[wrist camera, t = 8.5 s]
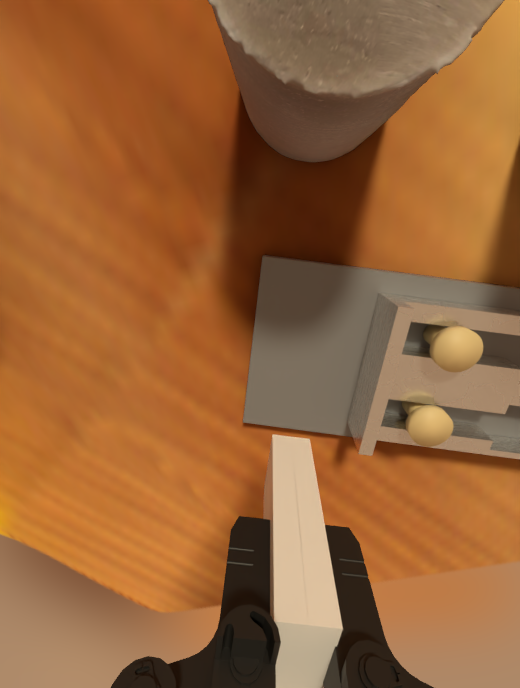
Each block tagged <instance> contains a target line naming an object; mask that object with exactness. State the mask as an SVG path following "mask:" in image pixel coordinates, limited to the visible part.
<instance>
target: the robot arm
mask: <svg viewBox="0 0 520 688" xmlns="http://www.w3.org/2000/svg"><path fill="white" fill-rule="evenodd" d="M323 687H324V688H433V687H432V686H429V685H428V684H426V683H423V682H422V681H420V680H418V679H417V678H415V677H414V676H412V675H411V674H409V672H407V671H406V670H405V669H404V668H403V667H402V666H401V665H400V664H399V662H398V661H397V660H396V659H395V657H394V656H393V654H392V652H391V650H390V649H389V647H388V645H387V642H386V639H385V636H384V633H383V629H382V625H381V622H380V618H379V615H378V611H377V607H376V603H375V600H374V596H373V592H372V589H371V585H370V581H369V579H368V574H367V570H366V566H365V564H364V559H363V555H362V552H361V548H360V544H359V542H358V541H357V539H356V538H355V536H354V535H353V533H352V532H351V530H350V529H349V528H347V527H339V526H330V525H325V524H324V518H323V512H322V507H321V501H320V495H319V490H318V484H317V478H316V472H315V467H314V461H313V455H312V449H311V444H310V439H306V438H297V437H289V436H280V435H272V441H271V447H270V454H269V460H268V466H267V473H266V479H265V485H264V517H263V519H260V518H251V517H242V516H239V518H238V519H237V521H236V523H235V524H234V526H233V527H232V529H231V535H230V542H229V550H228V558H227V566H226V574H225V582H224V590H223V598H222V606H221V614H220V621H219V625H218V629H217V631H216V633H215V635H214V637H213V639H212V640H211V641H210V643H209V644H208V645H207V647H205V648H204V649H203V650H202V651H200V652H199V653H197V654H195V655H193V656H191V657H189V658H186V659H183V660H180V661H176V662H173V663H170V664H167V663H165V662H164V661H163V660H162V659H160V658H155V657H149V656H148V657H144V658H141V659H138V660H135V661H134V662H132V663H131V664H130V665H128V666H127V667H126V668H125V669H123V670H122V672H121V673H120V675H119V676H118V677H117V679H116V680H115V681H114V683H113V684H112V686H111V688H323Z"/></svg>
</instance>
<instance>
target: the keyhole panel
mask: <svg viewBox="0 0 520 688" xmlns="http://www.w3.org/2000/svg"><path fill="white" fill-rule="evenodd" d="M411 322H417V323H425V324H433V325H441V326H448V327H450V326H463V327H466V328H468V329H472V330H479V331H487V332H495V333H503V334H510V335H518V336H520V311H517V310H510V309H502V308H494V307H486V306H478V305H471V304H463V303H455V302H447V301H439V300H432V299H424V298H416V297H408V296H400V295H393V294H385V293H379V295H378V299H377V303H376V307H375V311H374V315H373V319H372V323H371V327H370V331H369V335H368V339H367V344H366V348H365V352H364V356H363V360H362V364H361V368H360V372H359V376H358V380H357V384H356V388H355V392H354V396H353V400H352V404H351V408H350V412H349V417H348V421H347V422H348V425H349V428H350V431H351V434H352V436H353V439H354V442H355V445H356V448H357V451H358V454H363V455H370V456H372V455H373V451H374V448H375V444H376V441H377V440H378V441H385V442H393V443H401V444H408V445H416V446H421V445H418V444H417V443H415V442H414V441H413V440H412V438H411V437H410V435H409V433H408V432H407V430H406V420H407V417H408V415H400V414H393V413H385V410H386V406H387V403H388V399H393V400H401V401H408V402H416V403H424V404H431V405H439V406H446V407H454V408H462V409H469V410H477V411H484V412H492V413H500V414H505V413H506V411H507V409H508V406H509V405H514V406H520V367H518V366H517V365H515V364H513V363H512V362H510V361H508V360H507V359H505V358H500V357H492V356H484V355H481V357H480V359H479V360H478V362H477V363H476V364H475V365H474V366H472V367H471V368H469V369H467V370H465V371H462V372H448V371H445V370H443V369H442V368H441V367H439V366H438V365H437V364H436V363H435V362H434V361H433V360H432V358H431V356H430V348H423V347H415V346H407V345H404V344H405V341H406V337H407V334H408V330H409V327H410V324H411ZM452 422H453V421H452ZM423 447H425V446H423ZM431 448H438V449H446V450H453V451H461V452H468V453H476V454H483V455H491V456H498V457H506V458H513V459H520V439H517V438H510V437H502V436H494V435H487V434H486V433H485V432H484V431H483V430H482V429H481V428H480V427H479V426H478V425H476V424H468V423H461V422H453V431H452V434H451V435H450V437H449V438H448V439H447V440H446V441H445V442H443V443H441V444H439V445H437V446H432V447H431Z"/></svg>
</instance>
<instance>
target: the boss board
mask: <svg viewBox="0 0 520 688" xmlns="http://www.w3.org/2000/svg"><path fill="white" fill-rule="evenodd" d="M379 293H385V294H393V295H400V296H408V297H416V298H424V299H432V300H439V301H447V302H455V303H463V304H471V305H478V306H486V307H494V308H502V309H510V310H517V311H520V288H519V287H512V286H504V285H496V284H488V283H480V282H472V281H465V280H457V279H449V278H441V277H433V276H425V275H418V274H410V273H402V272H394V271H386V270H378V269H371V268H363V267H355V266H347V265H339V264H331V263H324V262H316V261H308V260H300V259H292V258H284V257H277V256H269V255H263V256H262V265H261V273H260V282H259V290H258V299H257V307H256V316H255V324H254V333H253V341H252V350H251V358H250V367H249V375H248V384H247V392H246V401H245V409H244V418H243V422H244V423H251V424H259V425H266V426H274V427H281V428H289V429H296V430H304V431H311V432H319V433H327V434H334V435H342V436H349V437H353V436H352V434H351V431H350V428H349V425H348V422H347V421H348V417H349V412H350V408H351V404H352V400H353V396H354V392H355V388H356V384H357V380H358V376H359V372H360V368H361V364H362V360H363V356H364V352H365V348H366V344H367V339H368V335H369V331H370V327H371V323H372V319H373V315H374V311H375V307H376V303H377V299H378V295H379ZM404 345H407V346H415V347H423V348H430V356H431V358H432V360H433V361H434V362H435V363H436V364H437V365H438V366H439V367H441V368H442V369H443V370H445V371H448V372H462V371H465V370H467V369H469V368H471V367H472V366H474V365H475V364H476V363H477V362H478V360H479V359H480V357H481V355H484V356H492V357H500V358H505V359H507V360H508V361H510V362H512V363H513V364H515V365H517V366H518V367H520V336H518V335H510V334H503V333H495V332H487V331H479V330H472V329H468V328H466V327H463V326H450V327H448V326H441V325H433V324H425V323H417V322H411V324H410V327H409V330H408V334H407V337H406V341H405V344H404ZM385 413H393V414H400V415H408V417H407V420H406V430H407V432H408V433H409V435H410V437H411V438H412V440H413V441H414V442H415V443H417V444H418V445H421V446H425V447H432V446H437V445H439V444H441V443H443V442H445V441H446V440H447V439H448V438H449V437H450V435H451V434H452V431H453V422H461V423H468V424H476V425H478V426H479V427H480V428H481V429H482V430H483V431H484V432H485V433H486V434H487V435H494V436H502V437H510V438H517V439H520V406H514V405H509V406H508V409H507V411H506V413H505V414H500V413H492V412H484V411H477V410H469V409H462V408H454V407H446V406H439V405H431V404H424V403H416V402H408V401H401V400H393V399H388V403H387V406H386V410H385ZM452 421H453V422H452Z"/></svg>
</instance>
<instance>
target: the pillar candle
mask: <svg viewBox="0 0 520 688" xmlns="http://www.w3.org/2000/svg"><path fill="white" fill-rule="evenodd" d="M208 1H209V4H211V5H212V7H213V11H214V14H215V17H216V20H217V23H218V26H219V28H220V31H221V35H222V38H223V41H224V44H225V47H226V50H227V53H228V56H229V59H230V62H231V65H232V68H233V71H234V74H235V77H236V81H237V83H238V86H239V89H240V92H241V95H242V99H243V101H244V104H245V108H246V111H247V113H248V116H249V118H250V120H251V122H252V124H253V126H254V127H255V129H256V131H257V132H258V133H259V134H260V136H261V137H262V138H263V140H264V141H265V142H266V143H267V144H268V145H269V146H270V147H272V148H273V149H274V150H276V151H277V152H278V153H280V154H281V155H284V156H286V157H288V158H291V159H294V160H299V161H306V162H321V161H328V160H332V159H335V158H337V157H340V156H342V155H344V154H346V153H348V152H350V151H352V150H354V149H355V148H356V147H357V146H358V145H359V144H360V143H362V142H363V141H364V140H365V139H366V138H368V137H369V136H371V134H372V133H373V132H375V131H376V130H377V129H378V128H379V127H380V126H381V125H382V124H384V123H385V122H386V121H387V120H388V119H389V118H390V117H391V116H392V115H393V114H394V113H396V112H397V111H398V110H399V109H400V108H401V107H402V105H403V104H404V103H405V102H406V101H407V100H408V99H409V97H410V96H411V95H413V94H414V93H415V92H416V91H417V90H418V89H419V88H420V87H421V86H422V85H423V84H424V83H426V82H427V80H428V79H429V78H430V77H431V76H432V75H434V74H435V73H437V74H438V72H439V70H440V69H441V68H443V67H444V66H446V65H449V64H451V63H452V62H453V61H454V60H455V59H456V58H458V57H459V56H460V55H461V54H462V53H463V52H464V51H465V50H466V48H467V47H468V46H469V44H470V43H471V41H472V38H473V37H474V36H475V35H476V34H477V33H478V32H479V31H480V30H481V29H482V27H483V25H484V24H485V23H486V22H487V20H488V19H489V18H490V17H491V15H492V14H493V13H494V12H495V11H496V10H497V9H498V7H499V6H500V5H501V4H502V3H503V1H504V0H208Z"/></svg>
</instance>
